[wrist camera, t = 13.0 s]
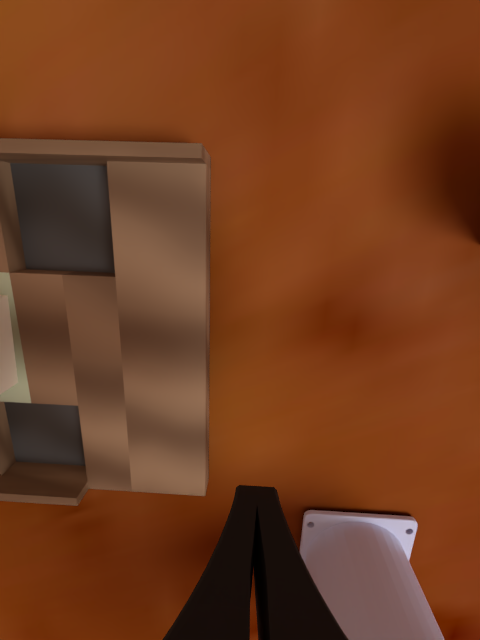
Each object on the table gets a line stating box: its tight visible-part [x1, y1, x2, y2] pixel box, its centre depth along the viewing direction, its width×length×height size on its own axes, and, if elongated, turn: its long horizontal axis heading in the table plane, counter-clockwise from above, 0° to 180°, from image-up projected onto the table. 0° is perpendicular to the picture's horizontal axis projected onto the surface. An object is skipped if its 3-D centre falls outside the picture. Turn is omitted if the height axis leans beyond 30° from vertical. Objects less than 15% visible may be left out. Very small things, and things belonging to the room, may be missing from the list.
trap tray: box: [0, 138, 211, 506], centre depth 19 cm, size 21×18×3 cm
